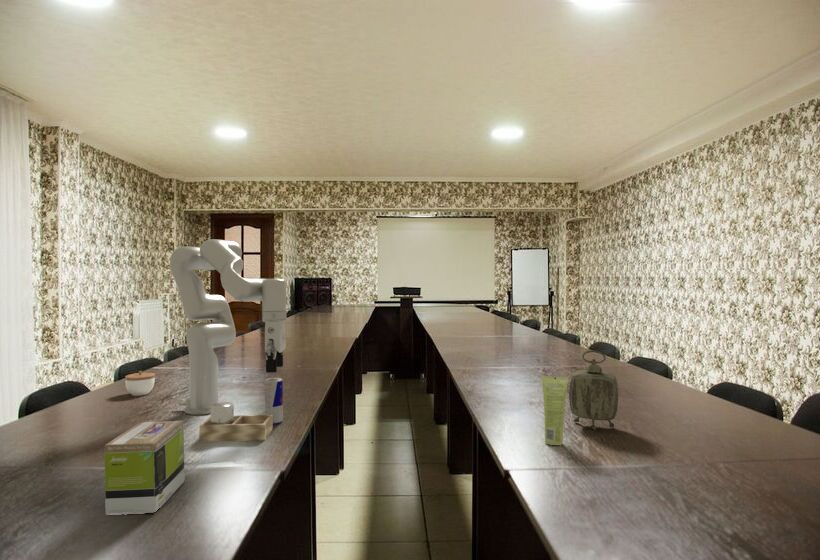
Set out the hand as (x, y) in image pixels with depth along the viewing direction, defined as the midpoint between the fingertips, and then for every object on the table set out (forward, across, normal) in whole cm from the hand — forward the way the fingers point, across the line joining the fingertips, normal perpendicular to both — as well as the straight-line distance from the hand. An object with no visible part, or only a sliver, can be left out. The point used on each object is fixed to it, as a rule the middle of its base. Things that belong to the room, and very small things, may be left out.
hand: (274, 369), depth 149 cm
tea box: (+19, -49, +17) cm, 55 cm away
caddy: (+18, -12, +9) cm, 23 cm away
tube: (+20, -22, -84) cm, 89 cm away
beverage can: (+18, 0, +1) cm, 18 cm away
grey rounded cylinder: (+17, -12, +13) cm, 24 cm away
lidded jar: (+17, +45, +65) cm, 81 cm away
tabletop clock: (+20, -9, -102) cm, 105 cm away
